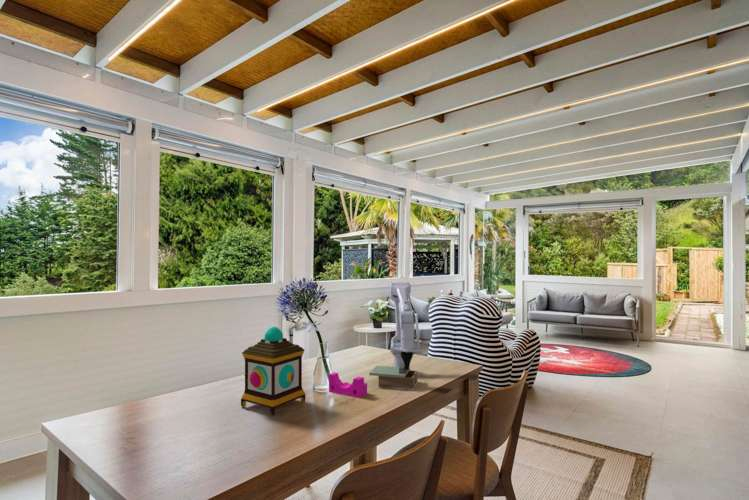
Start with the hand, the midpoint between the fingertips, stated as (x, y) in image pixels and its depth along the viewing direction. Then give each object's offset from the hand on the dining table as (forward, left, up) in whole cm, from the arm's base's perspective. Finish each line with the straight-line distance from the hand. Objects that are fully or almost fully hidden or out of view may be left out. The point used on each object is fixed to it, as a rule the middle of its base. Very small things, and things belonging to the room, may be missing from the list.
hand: (407, 369), depth 187 cm
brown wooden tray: (0, -4, -7) cm, 8 cm away
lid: (0, -8, -2) cm, 8 cm away
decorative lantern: (+37, -45, -7) cm, 59 cm away
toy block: (+16, -22, -7) cm, 28 cm away
